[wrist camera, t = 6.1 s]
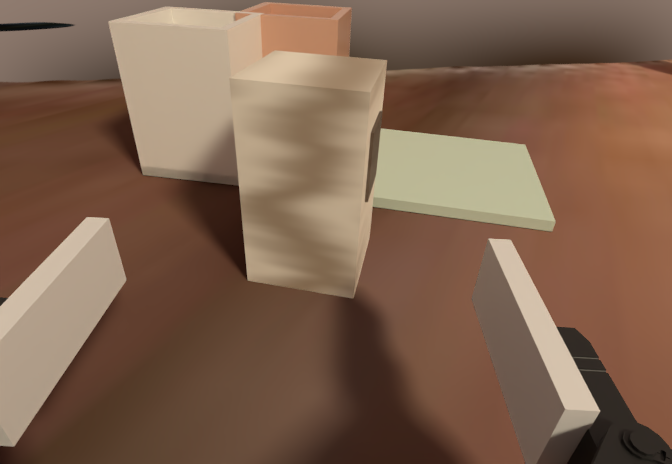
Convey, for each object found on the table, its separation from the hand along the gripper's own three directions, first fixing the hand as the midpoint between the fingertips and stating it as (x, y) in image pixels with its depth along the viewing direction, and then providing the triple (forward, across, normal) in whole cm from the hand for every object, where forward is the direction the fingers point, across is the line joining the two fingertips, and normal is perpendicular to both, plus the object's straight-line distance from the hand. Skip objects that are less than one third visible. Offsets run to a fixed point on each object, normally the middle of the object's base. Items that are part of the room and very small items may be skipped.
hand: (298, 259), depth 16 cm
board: (+21, -10, +6) cm, 24 cm away
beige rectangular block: (+9, 0, +6) cm, 11 cm away
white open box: (+22, +10, +6) cm, 25 cm away
